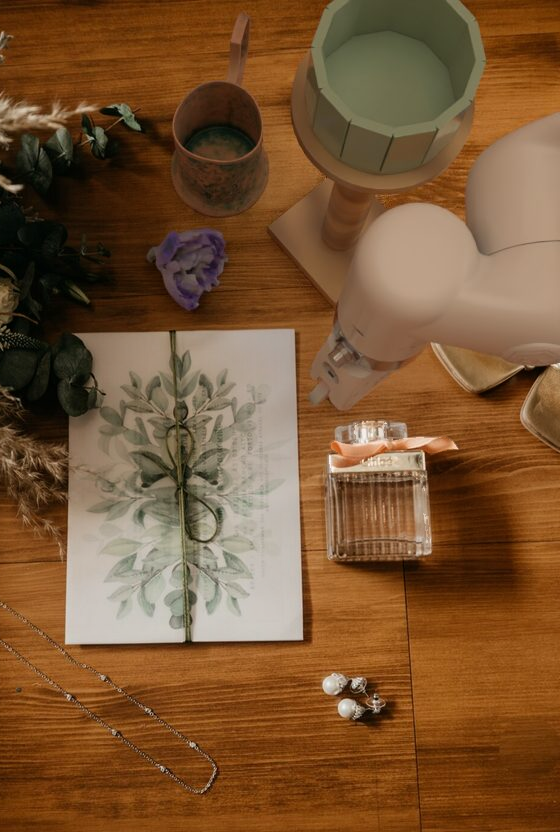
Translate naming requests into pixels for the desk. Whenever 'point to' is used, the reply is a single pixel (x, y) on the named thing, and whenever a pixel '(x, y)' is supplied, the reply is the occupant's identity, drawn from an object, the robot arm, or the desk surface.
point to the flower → (190, 263)
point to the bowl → (392, 80)
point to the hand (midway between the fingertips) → (351, 376)
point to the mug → (221, 140)
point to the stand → (342, 200)
